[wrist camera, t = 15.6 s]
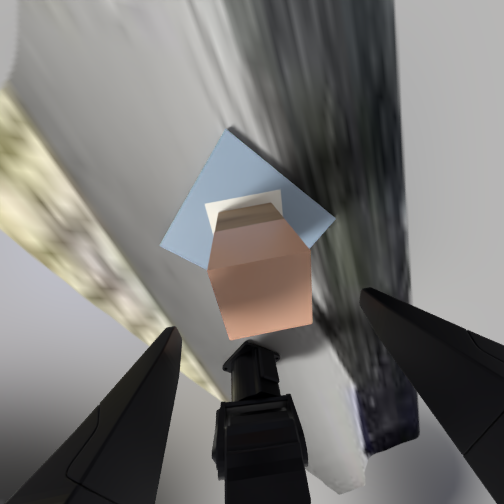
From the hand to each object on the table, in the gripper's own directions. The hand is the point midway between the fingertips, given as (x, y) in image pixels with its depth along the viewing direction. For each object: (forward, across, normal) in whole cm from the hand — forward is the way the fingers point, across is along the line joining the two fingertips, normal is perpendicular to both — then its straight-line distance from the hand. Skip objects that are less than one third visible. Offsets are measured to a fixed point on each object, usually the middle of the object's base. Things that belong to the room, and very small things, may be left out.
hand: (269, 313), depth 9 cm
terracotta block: (+6, 0, 0) cm, 6 cm away
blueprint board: (+12, 0, 0) cm, 12 cm away
